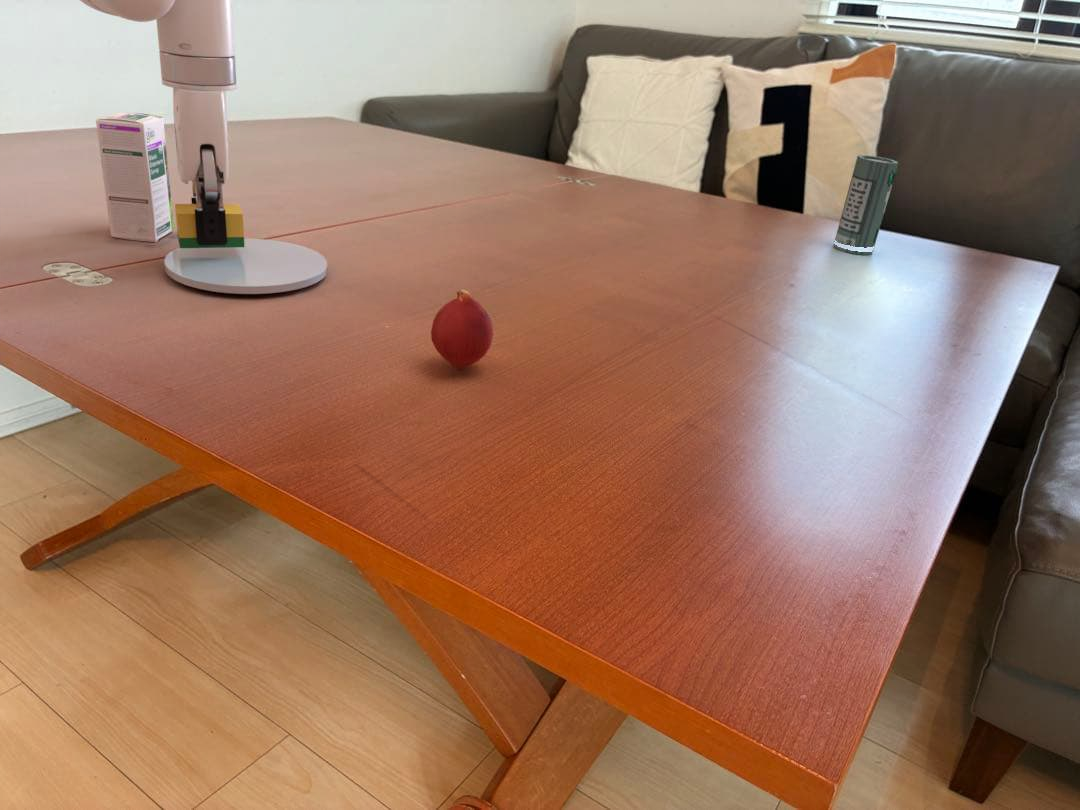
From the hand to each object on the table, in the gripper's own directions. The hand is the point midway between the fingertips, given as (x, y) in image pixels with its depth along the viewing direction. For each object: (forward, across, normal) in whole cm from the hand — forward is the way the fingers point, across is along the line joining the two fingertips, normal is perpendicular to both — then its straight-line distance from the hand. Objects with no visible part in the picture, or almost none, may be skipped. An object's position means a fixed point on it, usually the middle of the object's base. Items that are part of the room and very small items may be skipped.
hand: (210, 236), depth 99 cm
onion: (+4, +33, +20) cm, 39 cm away
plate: (+4, +3, +4) cm, 6 cm away
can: (+4, -2, +102) cm, 102 cm away
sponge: (+1, 0, 0) cm, 1 cm away
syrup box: (+4, -13, -7) cm, 15 cm away
